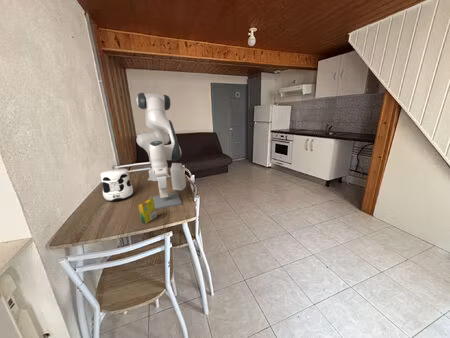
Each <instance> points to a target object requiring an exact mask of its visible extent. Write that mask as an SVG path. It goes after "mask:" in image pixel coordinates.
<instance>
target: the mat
mask: <svg viewBox="0 0 450 338" xmlns="http://www.w3.org/2000/svg"><path fill="white" fill-rule="evenodd" d="M151 197H153V200H154V205H155V210H157V211H158V210H161V209H166V208H167V209H168V208H171V207H176V206H182V200H181V198H180V196H179V194H178V191H177V192H172V193H168V197H164V198H160V195H155V196H150V197H148V199H149V198H151Z"/></svg>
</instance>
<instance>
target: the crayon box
mask: <svg viewBox="0 0 450 338" xmlns="http://www.w3.org/2000/svg"><path fill="white" fill-rule="evenodd" d="M150 197H151V198H149V197H148V198H147V199H146V200H144V201H142V202H141V203H140V204H138V211H139V215H140V219H141V220H140V221H141V223H142V224H144V225H147V224H148V223H149V222H151V221H152V220H154V219H156V218H157V216H158V215H157V212H156V210H155V205H154V200H153V197H154V196H150Z"/></svg>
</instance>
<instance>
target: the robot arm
mask: <svg viewBox="0 0 450 338" xmlns="http://www.w3.org/2000/svg"><path fill="white" fill-rule="evenodd" d="M136 104H137V106H138V108H139V109H142V110H145V118H144V119H145V126H146V127H147V128H148V129H150V130H153V132H144V133H139V134H138V135H137V136H136V139H135V140H136V143H137V145H138V146H139V147H140V148H142V149H143V150H145V152H146V153H147V155H148V159H149V170H148V178H147V181H151V182H158V183H157V184H159V186H158V188H159V187H160V189H161V190H162V193H163V194H164V193H165V189H166V188H167V189H168V179H169V178H171V174H169V168H168V166H169V165H168V162H167V161H178V160H179V159H180V158H181V157H182V149H181V147H180V145H179V142H178V138H177V135H176V132H175V128H174V125H173V123H172V121H171V120H170V119H168V118H167V115H166V111H169V110H170V108H171V106H172V101H171V98H170V96H169V95H166V94H161V93H156V92H155V93H154V92H153V93H152V92H139V93H137V96H136ZM169 142H171V144H168V143H169Z"/></svg>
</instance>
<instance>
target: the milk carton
mask: <svg viewBox="0 0 450 338" xmlns="http://www.w3.org/2000/svg"><path fill="white" fill-rule="evenodd" d="M169 170H170V176H171V177H170V179H171V185H172V186H171V187H172V191H184V189H185V188H186V187H187V182H186V175H185V167H184V165H183V164H182V162H171V167H170V169H169Z"/></svg>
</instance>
